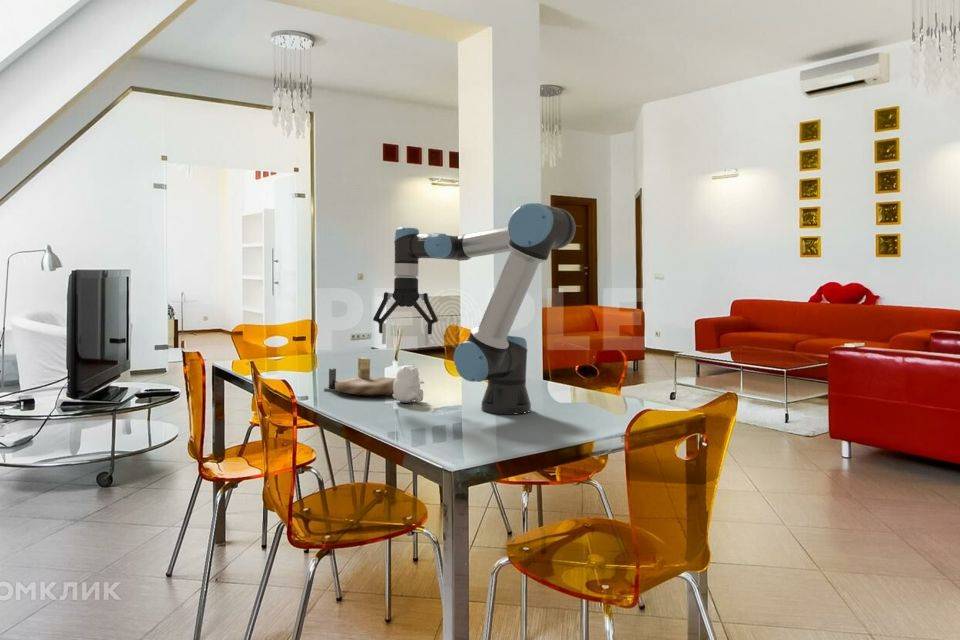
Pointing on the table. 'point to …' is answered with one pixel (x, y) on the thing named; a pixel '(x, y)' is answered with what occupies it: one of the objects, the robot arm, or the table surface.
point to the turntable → (365, 382)
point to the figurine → (408, 385)
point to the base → (333, 379)
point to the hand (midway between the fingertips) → (405, 344)
